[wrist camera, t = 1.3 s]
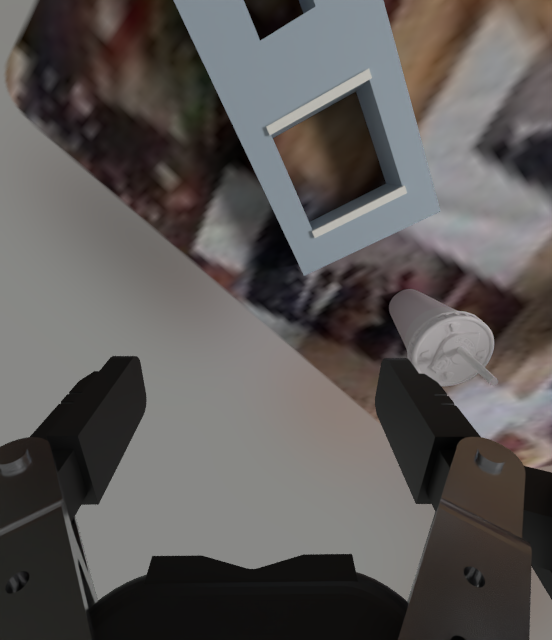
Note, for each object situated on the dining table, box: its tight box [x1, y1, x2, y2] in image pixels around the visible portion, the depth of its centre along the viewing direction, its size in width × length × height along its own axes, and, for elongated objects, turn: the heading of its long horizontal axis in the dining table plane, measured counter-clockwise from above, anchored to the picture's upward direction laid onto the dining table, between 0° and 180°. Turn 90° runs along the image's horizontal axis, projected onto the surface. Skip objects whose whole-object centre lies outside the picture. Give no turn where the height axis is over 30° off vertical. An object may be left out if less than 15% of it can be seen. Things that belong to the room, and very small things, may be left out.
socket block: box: [173, 0, 440, 276], centre depth 25 cm, size 12×24×4 cm, turn 26°
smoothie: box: [389, 289, 498, 386], centre depth 28 cm, size 6×6×14 cm
